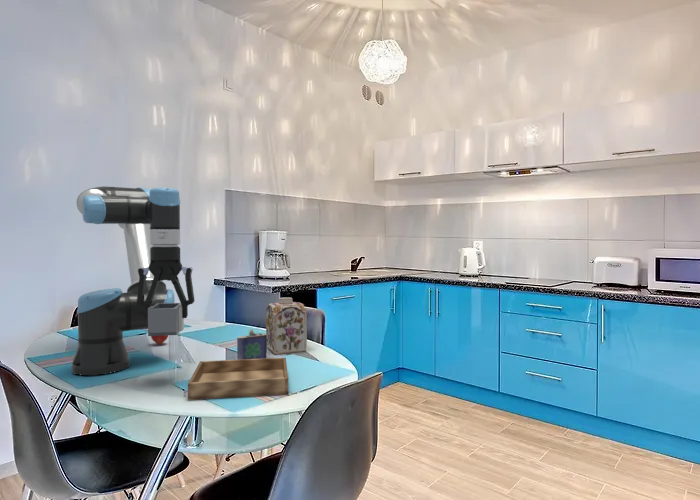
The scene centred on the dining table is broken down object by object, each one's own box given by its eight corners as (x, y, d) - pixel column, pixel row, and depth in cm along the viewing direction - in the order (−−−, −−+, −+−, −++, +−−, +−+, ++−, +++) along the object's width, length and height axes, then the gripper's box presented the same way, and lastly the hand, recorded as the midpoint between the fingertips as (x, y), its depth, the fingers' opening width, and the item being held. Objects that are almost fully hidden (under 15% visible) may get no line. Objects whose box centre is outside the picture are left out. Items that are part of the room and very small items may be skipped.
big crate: (187, 400, 112) (187, 383, 112) (200, 375, 132) (200, 361, 132) (288, 394, 116) (288, 378, 116) (285, 371, 136) (285, 357, 136)
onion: (147, 345, 167) (147, 323, 167) (159, 342, 173) (159, 320, 172) (160, 347, 165) (159, 324, 165) (171, 343, 170) (171, 321, 170)
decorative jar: (273, 355, 154) (273, 301, 153) (265, 347, 165) (265, 296, 164) (308, 351, 159) (307, 298, 158) (297, 344, 169) (297, 294, 169)
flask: (238, 367, 139) (238, 332, 139) (235, 365, 142) (235, 330, 142) (267, 363, 144) (267, 329, 144) (264, 361, 147) (264, 327, 146)
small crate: (148, 336, 121) (147, 309, 121) (157, 328, 131) (157, 303, 130) (176, 335, 122) (176, 308, 122) (183, 327, 132) (183, 302, 132)
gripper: (121, 246, 120) (122, 334, 121) (201, 246, 123) (202, 332, 124) (130, 245, 127) (131, 328, 128) (205, 245, 131) (206, 326, 132)
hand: (166, 330), depth 126 cm, fingers closed on small crate, 7 cm apart
